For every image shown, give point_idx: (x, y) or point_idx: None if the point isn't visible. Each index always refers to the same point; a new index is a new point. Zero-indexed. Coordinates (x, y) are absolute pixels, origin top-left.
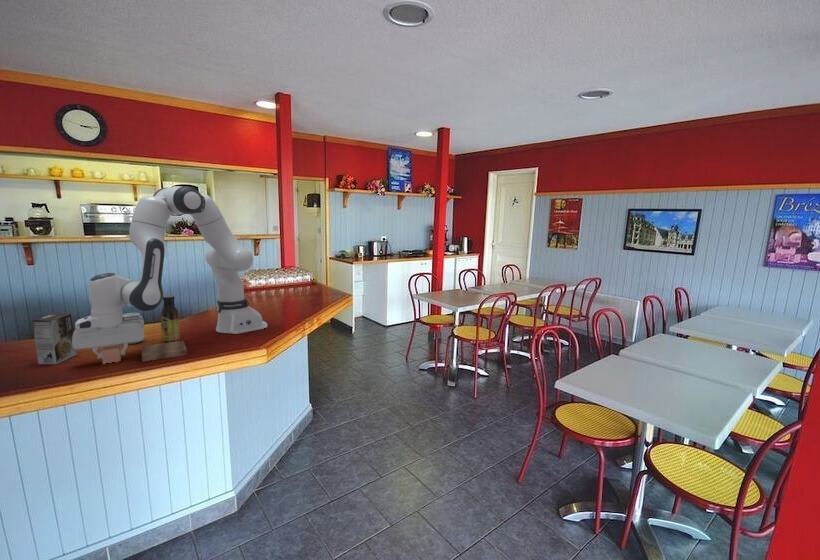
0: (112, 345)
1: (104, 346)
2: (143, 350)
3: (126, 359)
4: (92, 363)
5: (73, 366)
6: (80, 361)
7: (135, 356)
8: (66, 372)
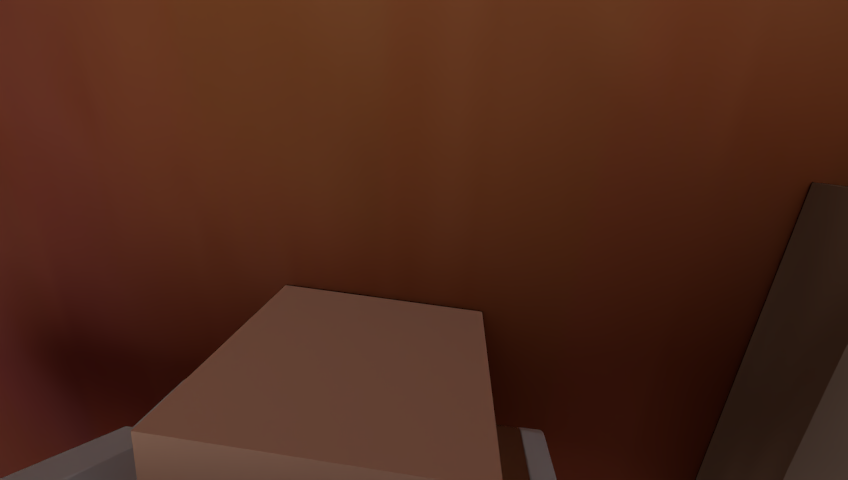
0: (339, 470)
1: (171, 445)
2: (810, 477)
3: (525, 424)
4: (177, 333)
5: (5, 313)
6: (21, 155)
7: (644, 376)
8: (3, 457)
